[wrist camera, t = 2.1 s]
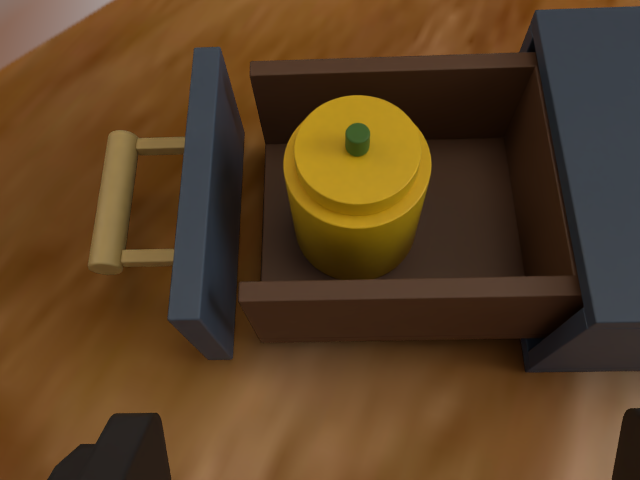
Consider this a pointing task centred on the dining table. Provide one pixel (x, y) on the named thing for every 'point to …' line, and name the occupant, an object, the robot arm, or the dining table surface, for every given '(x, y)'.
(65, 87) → the dining table surface
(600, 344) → the cabinet
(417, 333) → the drawer
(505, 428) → the dining table surface
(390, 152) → the yellow cylinder
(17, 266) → the dining table surface
